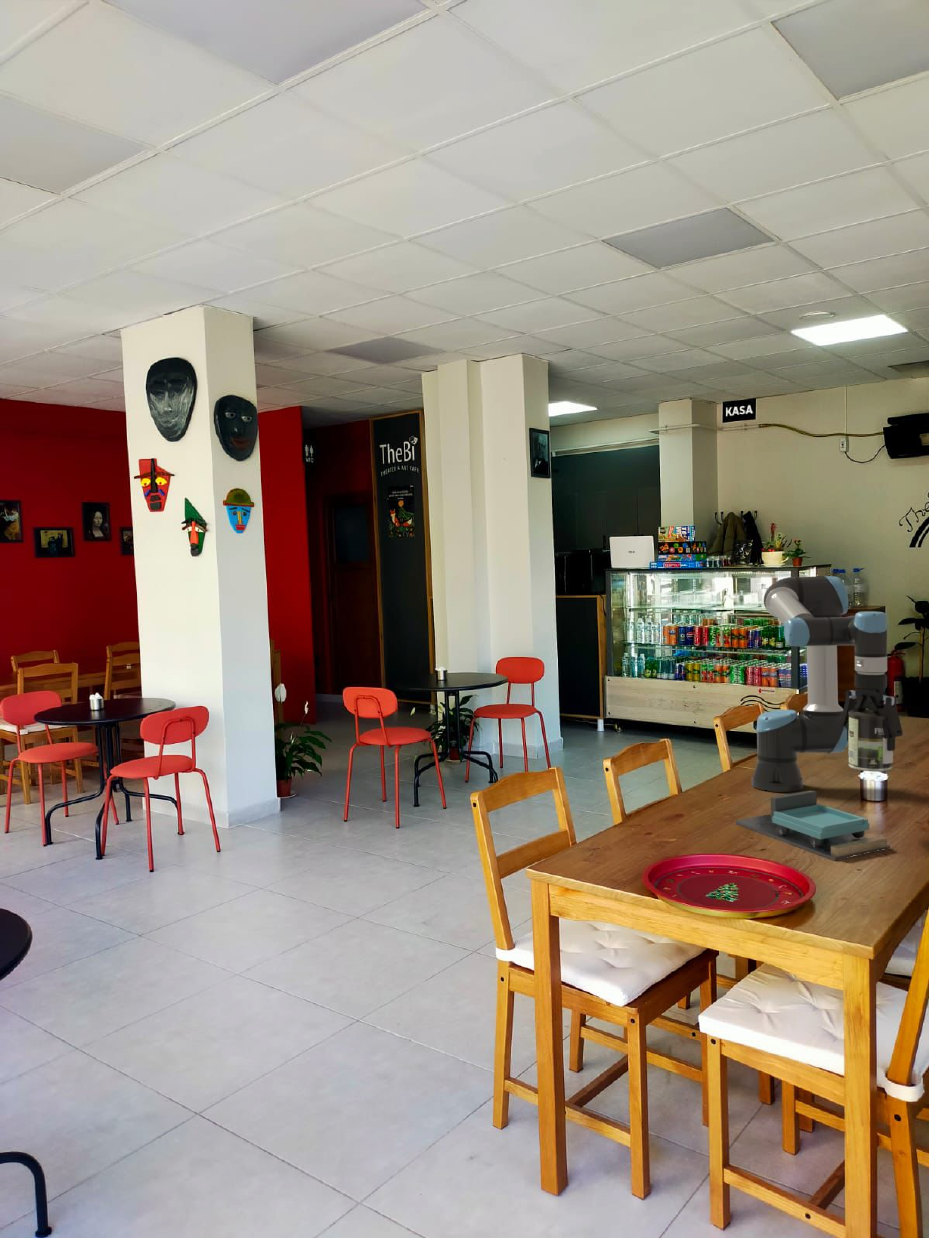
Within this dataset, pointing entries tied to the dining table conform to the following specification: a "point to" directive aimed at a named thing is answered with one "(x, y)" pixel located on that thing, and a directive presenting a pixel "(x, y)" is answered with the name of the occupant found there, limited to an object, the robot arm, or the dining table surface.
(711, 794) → the dining table surface
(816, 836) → the cart
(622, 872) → the dining table surface
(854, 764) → the coffee can
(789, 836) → the track
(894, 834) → the dining table surface
